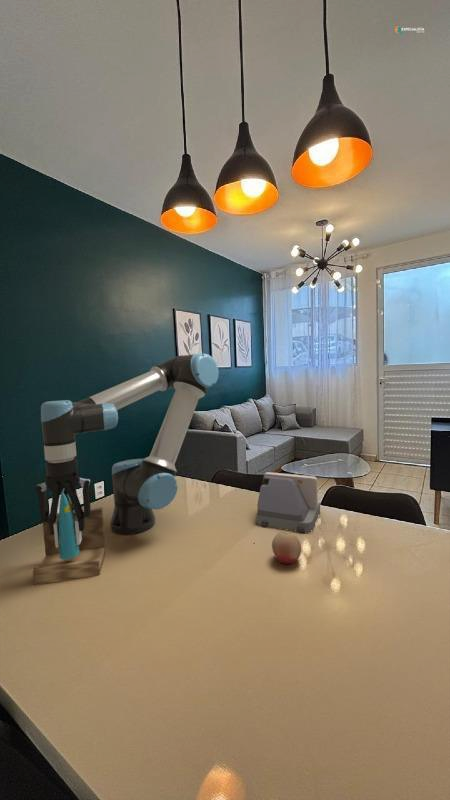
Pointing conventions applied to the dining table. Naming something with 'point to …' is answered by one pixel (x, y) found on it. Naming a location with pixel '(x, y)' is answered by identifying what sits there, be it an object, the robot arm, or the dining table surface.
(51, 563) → the brown piece
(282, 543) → the fruit
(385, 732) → the dining table surface
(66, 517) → the tube
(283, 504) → the instant camera
